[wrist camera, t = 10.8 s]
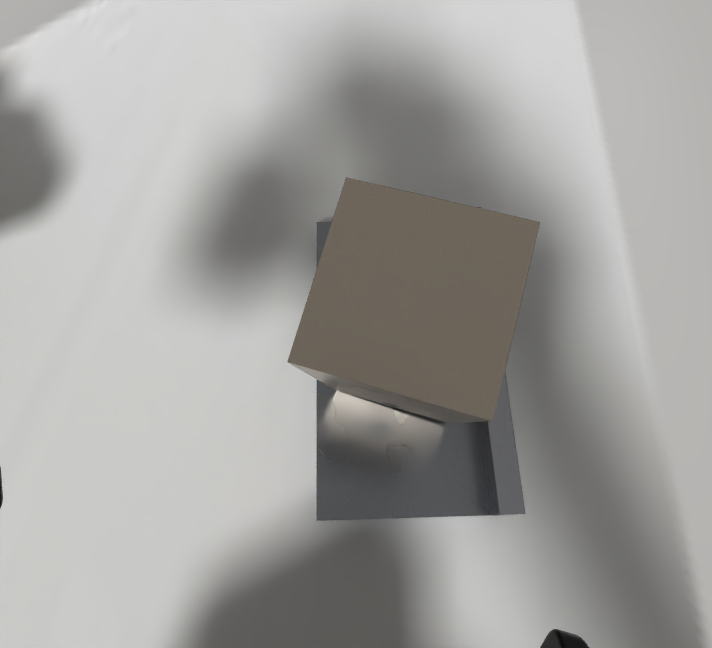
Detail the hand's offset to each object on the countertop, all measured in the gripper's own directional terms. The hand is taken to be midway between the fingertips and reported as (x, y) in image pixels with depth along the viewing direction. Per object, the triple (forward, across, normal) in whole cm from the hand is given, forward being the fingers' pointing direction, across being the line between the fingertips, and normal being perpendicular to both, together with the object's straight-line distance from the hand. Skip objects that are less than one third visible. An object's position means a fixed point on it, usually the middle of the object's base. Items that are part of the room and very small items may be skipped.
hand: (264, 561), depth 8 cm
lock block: (+14, -2, +2) cm, 15 cm away
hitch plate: (+16, -2, +4) cm, 16 cm away
